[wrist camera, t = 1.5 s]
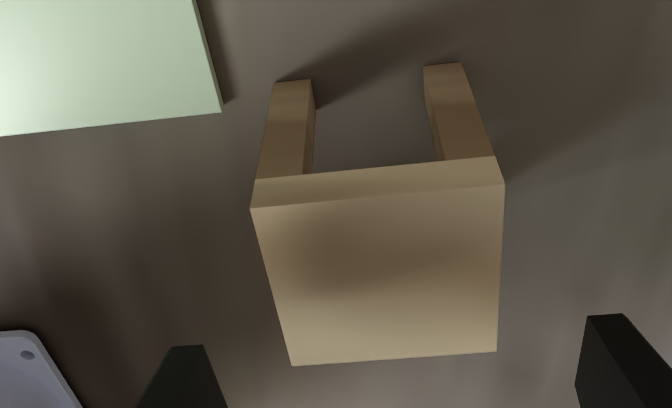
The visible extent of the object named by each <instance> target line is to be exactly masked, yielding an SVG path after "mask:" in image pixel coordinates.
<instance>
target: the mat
mask: <svg viewBox="0 0 672 408" xmlns="http://www.w3.org/2000/svg"><path fill="white" fill-rule="evenodd" d="M223 106H224V104H223V100H222V96H221V93H220V89H219V85H218V81H217V78H216V74H215V70H214V66H213V63H212V59H211V55H210V51H209V47H208V44H207V40H206V36H205V32H204V29H203V25H202V21H201V17H200V14H199V10H198V6H197V2H196V0H0V136H7V135H16V134H26V133H35V132H44V131H53V130H63V129H72V128H81V127H90V126H100V125H109V124H118V123H127V122H137V121H146V120H155V119H164V118H174V117H183V116H192V115H201V114H210V113H220V112H222V109H223Z"/></svg>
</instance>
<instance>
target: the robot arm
mask: <svg viewBox="0 0 672 408" xmlns="http://www.w3.org/2000/svg"><path fill="white" fill-rule="evenodd" d="M575 388H576V392H577V396H578V400H579V403H580V407H581V408H672V368H671V367H670V366H669V365H668V364H667V363H666V362H665V361H664V360H663V358H662V357H661V356H660V355H659V354H658V353H657V352H656V351H655V349H654V348H653V347H652V346H651V345H650V344H649V343H648V341H647V340H646V339H645V338H644V337H643V336H642V334H641V333H640V332H639V331H638V330H637V329H636V327H635V326H634V325H633V324H632V323H631V322H630V320H629V319H628V318H627V317H626V316H625V315H623V314H622V313H619V314H606V315H592V316H587V320H586V326H585V331H584V336H583V342H582V347H581V353H580V358H579V363H578V369H577V374H576V380H575ZM0 408H83V407H82V406H81V404H80V403H79V401H78V399H77V398H76V396H75V395H74V393H73V392H72V390H71V388H70V387H69V385H68V384H67V382H66V381H65V379H64V377H63V376H62V374H61V373H60V371H59V370H58V368H57V367H56V365H55V363H54V362H53V360H52V359H51V357H50V356H49V354H48V352H47V351H46V349H45V348H44V346H43V345H42V343H41V341H40V340H39V338H38V337H37V336H36V335H35V334H34V333H32V332H30V331H26V330H15V331H3V332H0ZM134 408H228V407H227V404H226V402H225V399H224V397H223V394H222V392H221V389H220V387H219V384H218V382H217V379H216V376H215V374H214V371H213V369H212V366H211V364H210V361H209V359H208V356H207V354H206V351H205V349H204V346H203V344H202V345H188V346H175V347H172V348H171V349H170V350H169V351H168V352H167V354H166V356H165V357H164V359H163V361H162V362H161V364H160V366H159V367H158V369H157V371H156V372H155V374H154V376H153V377H152V379H151V381H150V382H149V384H148V385H147V387H146V389H145V390H144V392H143V394H142V395H141V397H140V398H139V400H138V402H137V403H136V405H135V406H134Z"/></svg>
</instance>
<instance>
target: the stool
mask: <svg viewBox="0 0 672 408" xmlns="http://www.w3.org/2000/svg"><path fill="white" fill-rule="evenodd" d="M423 81H424V101H425V105H426V110H427V114H428V119H429V123H430V128H431V132H432V136H433V141H434V145H435V150H436V154H437V159H438V161H437V162H427V163H417V164H406V165H396V166H386V167H376V168H366V169H356V170H346V171H335V172H325V173H315V174H312V162H313V148H314V133H315V118H316V109H315V103H314V97H313V90H312V84H311V79H303V80H294V81H285V82H276V83H274V85H273V90H272V95H271V100H270V106H269V111H268V116H267V121H266V126H265V131H264V137H263V142H262V147H261V152H260V157H259V163H258V168H257V173H256V178H255V183H254V189H253V194H252V199H251V204H250V212H251V216H252V219H253V223H254V227H255V231H256V234H257V238H258V242H259V245H260V249H261V253H262V257H263V260H264V264H265V268H266V272H267V275H268V279H269V283H270V287H271V290H272V294H273V298H274V302H275V305H276V309H277V313H278V317H279V320H280V324H281V328H282V332H283V335H284V339H285V343H286V347H287V350H288V354H289V358H290V361H291V365H292V366H304V365H318V364H331V363H345V362H359V361H372V360H386V359H400V358H413V357H427V356H441V355H454V354H468V353H482V352H496V349H497V330H498V312H499V293H500V275H501V256H502V238H503V219H504V201H505V182H504V179H503V176H502V174H501V171H500V168H499V165H498V163H497V160H496V157H495V154H494V151H493V149H492V146H491V143H490V140H489V138H488V135H487V132H486V129H485V127H484V124H483V121H482V118H481V116H480V113H479V110H478V107H477V105H476V102H475V99H474V96H473V93H472V91H471V88H470V85H469V82H468V80H467V77H466V74H465V71H464V69H463V66H462V63H461V62H456V63H447V64H438V65H429V66H423Z"/></svg>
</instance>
